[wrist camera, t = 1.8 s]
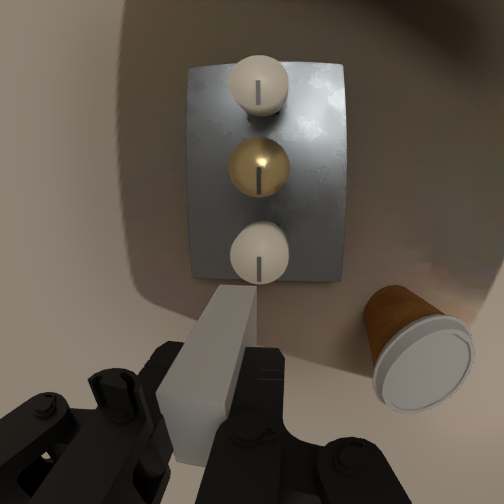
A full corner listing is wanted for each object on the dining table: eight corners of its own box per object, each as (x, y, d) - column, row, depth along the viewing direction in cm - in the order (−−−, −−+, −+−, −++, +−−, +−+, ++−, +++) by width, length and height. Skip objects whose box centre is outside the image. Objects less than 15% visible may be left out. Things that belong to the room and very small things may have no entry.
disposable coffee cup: (339, 342, 31) (358, 417, 20) (364, 263, 29) (405, 316, 17) (409, 350, 31) (446, 415, 19) (437, 278, 28) (495, 327, 16)
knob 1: (241, 81, 22) (228, 56, 17) (287, 80, 22) (287, 54, 16) (241, 123, 23) (227, 108, 18) (288, 123, 23) (289, 107, 17)
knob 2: (242, 215, 26) (229, 227, 20) (288, 215, 25) (289, 228, 19) (242, 259, 27) (230, 283, 21) (287, 260, 26) (287, 285, 20)
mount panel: (197, 77, 26) (187, 68, 23) (337, 74, 24) (342, 64, 21) (200, 267, 31) (192, 277, 28) (335, 271, 29) (340, 281, 26)
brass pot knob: (241, 146, 24) (227, 137, 18) (288, 145, 24) (289, 136, 18) (242, 192, 25) (228, 197, 19) (288, 192, 25) (289, 198, 19)
